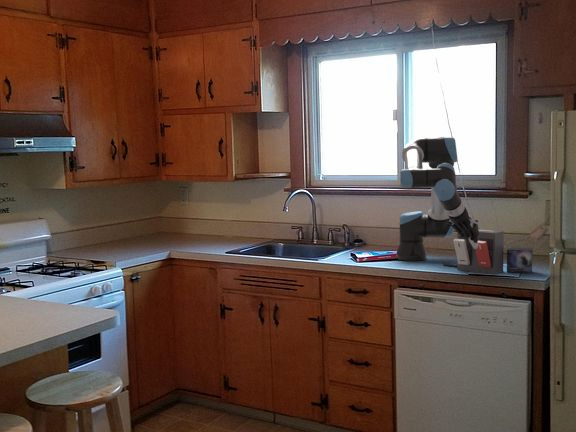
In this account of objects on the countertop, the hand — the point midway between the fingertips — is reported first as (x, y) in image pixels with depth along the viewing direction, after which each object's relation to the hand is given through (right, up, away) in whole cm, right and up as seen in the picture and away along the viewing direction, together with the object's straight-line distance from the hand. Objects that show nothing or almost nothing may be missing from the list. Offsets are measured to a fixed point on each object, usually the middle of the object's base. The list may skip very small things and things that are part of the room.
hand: (476, 246), depth 276 cm
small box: (+22, -12, +9) cm, 27 cm away
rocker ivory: (-1, -8, +14) cm, 17 cm away
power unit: (+2, -11, +18) cm, 21 cm away
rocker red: (+6, -9, +7) cm, 13 cm away
